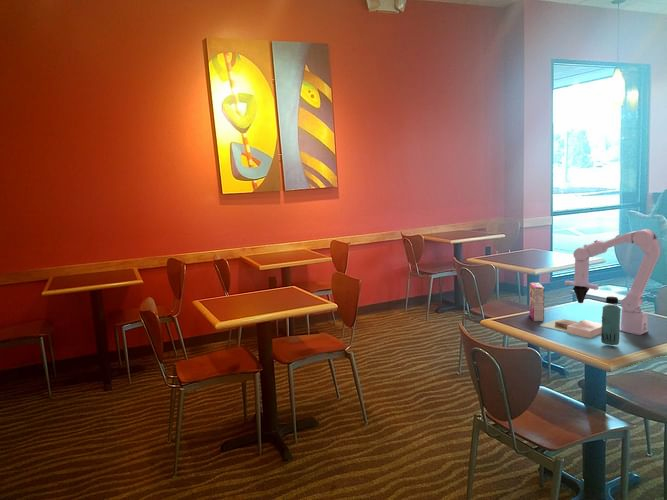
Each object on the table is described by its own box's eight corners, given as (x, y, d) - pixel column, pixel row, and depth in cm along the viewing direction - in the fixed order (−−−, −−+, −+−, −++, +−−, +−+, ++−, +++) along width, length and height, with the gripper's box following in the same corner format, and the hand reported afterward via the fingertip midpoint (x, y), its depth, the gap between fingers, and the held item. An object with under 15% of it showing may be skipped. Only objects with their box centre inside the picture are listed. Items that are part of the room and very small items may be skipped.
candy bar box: (528, 315, 240) (529, 282, 238) (539, 315, 239) (539, 282, 237) (533, 321, 229) (533, 287, 227) (544, 321, 228) (545, 287, 226)
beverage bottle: (613, 343, 196) (615, 294, 193) (623, 348, 189) (625, 298, 187) (597, 344, 196) (598, 295, 193) (606, 349, 189) (608, 299, 186)
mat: (582, 325, 219) (582, 325, 219) (565, 332, 212) (565, 331, 212) (556, 320, 230) (556, 319, 230) (539, 326, 222) (539, 325, 222)
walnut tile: (578, 326, 218) (578, 322, 217) (570, 329, 214) (570, 325, 213) (563, 323, 223) (563, 318, 223) (555, 326, 219) (555, 321, 219)
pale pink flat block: (606, 331, 211) (607, 324, 210) (589, 338, 203) (590, 331, 203) (583, 326, 219) (584, 319, 219) (566, 332, 211) (567, 325, 211)
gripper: (561, 272, 225) (560, 301, 227) (593, 276, 213) (591, 307, 215) (569, 270, 229) (569, 298, 231) (601, 274, 217) (600, 304, 219)
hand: (580, 302), depth 223 cm, fingers closed
